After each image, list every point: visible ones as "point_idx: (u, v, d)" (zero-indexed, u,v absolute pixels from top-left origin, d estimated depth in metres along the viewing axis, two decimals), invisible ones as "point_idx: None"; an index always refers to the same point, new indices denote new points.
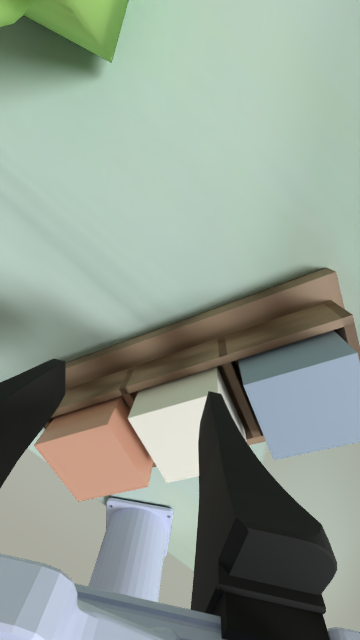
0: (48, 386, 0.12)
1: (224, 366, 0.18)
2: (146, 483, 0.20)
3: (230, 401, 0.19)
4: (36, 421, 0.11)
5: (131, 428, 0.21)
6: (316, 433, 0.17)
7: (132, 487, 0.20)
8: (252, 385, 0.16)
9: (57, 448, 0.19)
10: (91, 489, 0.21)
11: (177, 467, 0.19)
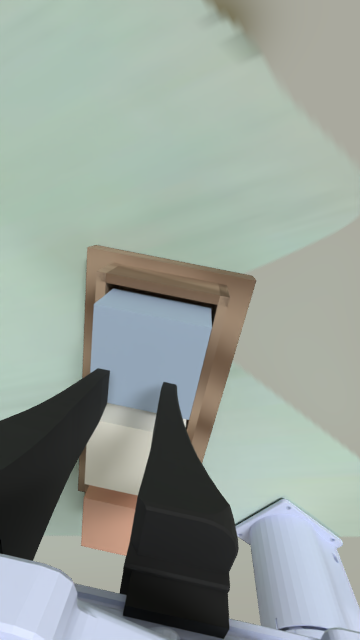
0: (97, 396, 0.11)
1: None
2: None
3: None
4: (86, 432, 0.11)
5: None
6: (174, 373, 0.15)
7: None
8: None
9: (91, 536, 0.22)
10: None
11: None
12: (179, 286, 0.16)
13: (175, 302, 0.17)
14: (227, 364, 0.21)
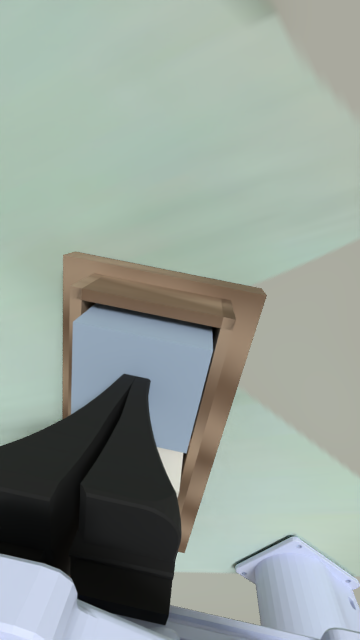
0: (126, 402, 0.11)
1: None
2: None
3: None
4: None
5: None
6: (169, 402, 0.13)
7: None
8: None
9: None
10: None
11: None
12: (172, 305, 0.13)
13: None
14: (231, 391, 0.18)
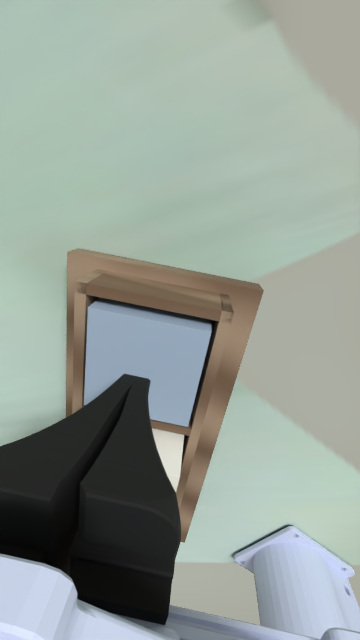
0: None
1: None
2: None
3: None
4: None
5: None
6: (172, 379, 0.15)
7: None
8: (86, 399, 0.16)
9: None
10: None
11: None
12: (173, 299, 0.14)
13: None
14: (229, 384, 0.18)
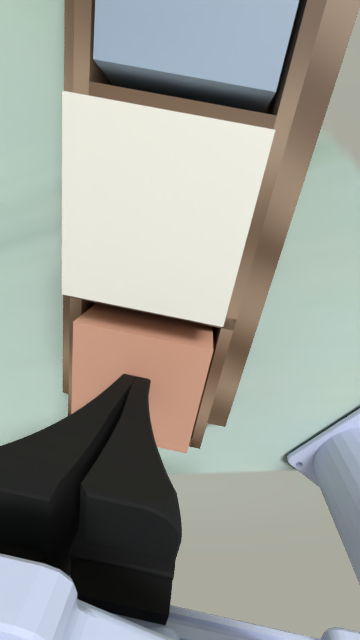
0: (126, 402, 0.11)
1: None
2: (207, 348, 0.12)
3: None
4: None
5: (137, 316, 0.14)
6: None
7: (201, 371, 0.12)
8: (98, 41, 0.09)
9: None
10: (174, 423, 0.13)
11: (199, 285, 0.10)
12: None
13: None
14: (322, 100, 0.12)
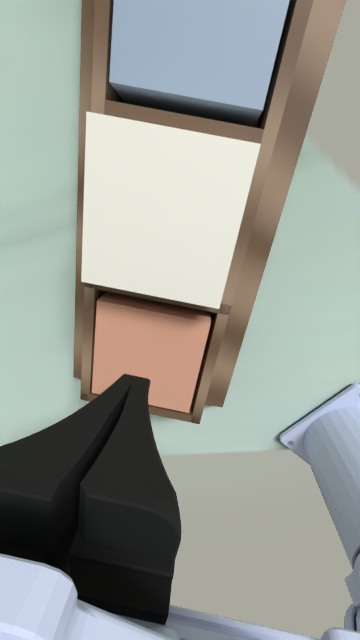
0: None
1: (108, 114, 0.12)
2: (206, 321, 0.15)
3: None
4: None
5: None
6: None
7: (201, 341, 0.15)
8: (114, 67, 0.11)
9: (106, 374, 0.16)
10: (179, 386, 0.16)
11: (198, 273, 0.11)
12: None
13: None
14: (305, 113, 0.13)
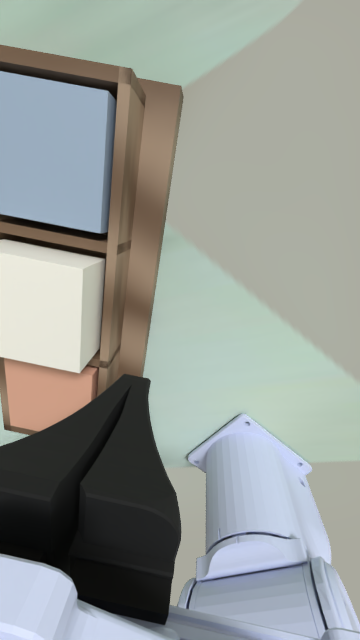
0: None
1: None
2: (89, 374, 0.18)
3: (44, 249, 0.16)
4: None
5: None
6: (76, 165, 0.14)
7: (87, 388, 0.19)
8: None
9: (19, 411, 0.20)
10: None
11: (59, 349, 0.15)
12: None
13: None
14: (158, 217, 0.17)
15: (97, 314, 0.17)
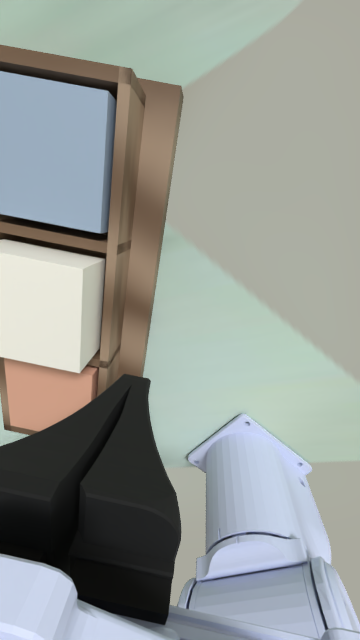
0: None
1: None
2: (89, 374, 0.18)
3: (44, 249, 0.16)
4: None
5: None
6: (76, 165, 0.14)
7: (87, 388, 0.19)
8: None
9: (19, 411, 0.20)
10: None
11: (59, 349, 0.15)
12: None
13: None
14: (158, 217, 0.17)
15: (97, 314, 0.17)
